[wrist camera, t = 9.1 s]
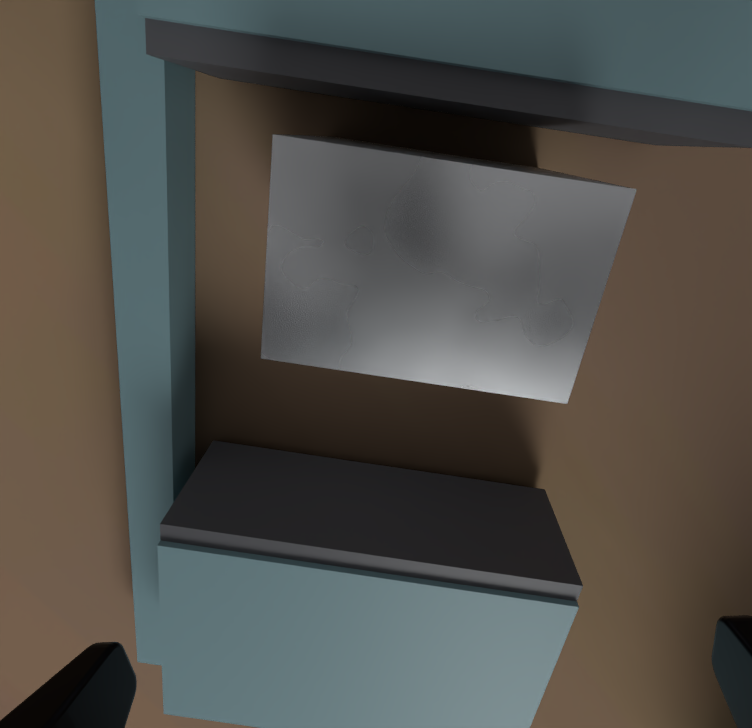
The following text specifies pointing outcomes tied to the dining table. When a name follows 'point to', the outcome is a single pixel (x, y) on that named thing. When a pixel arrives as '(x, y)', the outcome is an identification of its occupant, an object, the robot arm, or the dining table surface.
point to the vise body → (369, 83)
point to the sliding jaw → (358, 595)
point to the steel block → (435, 265)
